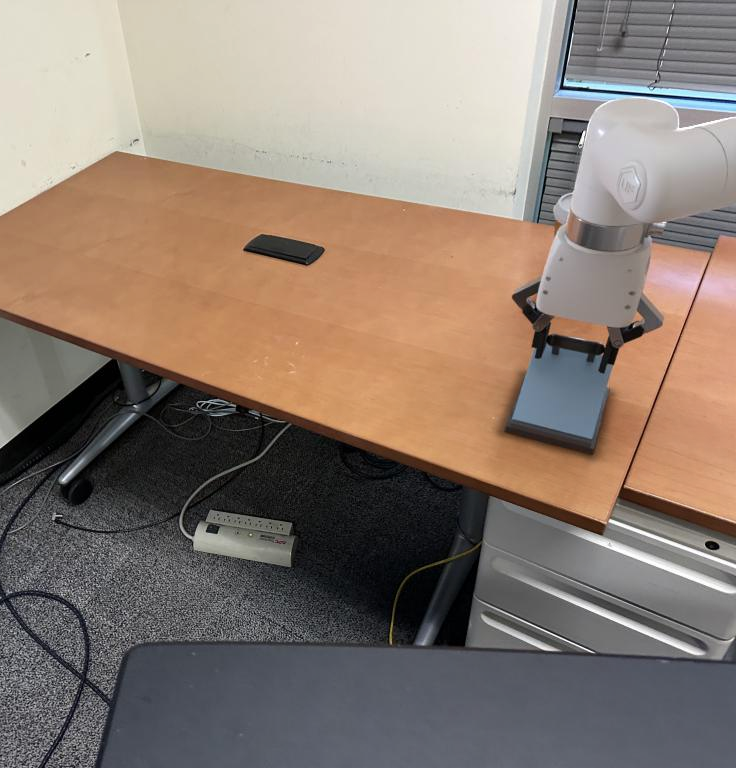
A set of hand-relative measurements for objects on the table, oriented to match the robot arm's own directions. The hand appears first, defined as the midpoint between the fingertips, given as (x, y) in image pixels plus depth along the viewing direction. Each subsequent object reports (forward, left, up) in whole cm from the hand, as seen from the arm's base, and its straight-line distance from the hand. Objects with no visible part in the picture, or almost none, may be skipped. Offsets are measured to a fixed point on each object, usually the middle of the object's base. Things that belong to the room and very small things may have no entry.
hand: (571, 358), depth 83 cm
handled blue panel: (0, +2, -4) cm, 4 cm away
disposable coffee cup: (+4, -32, -8) cm, 34 cm away
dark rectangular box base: (0, +2, -8) cm, 8 cm away
